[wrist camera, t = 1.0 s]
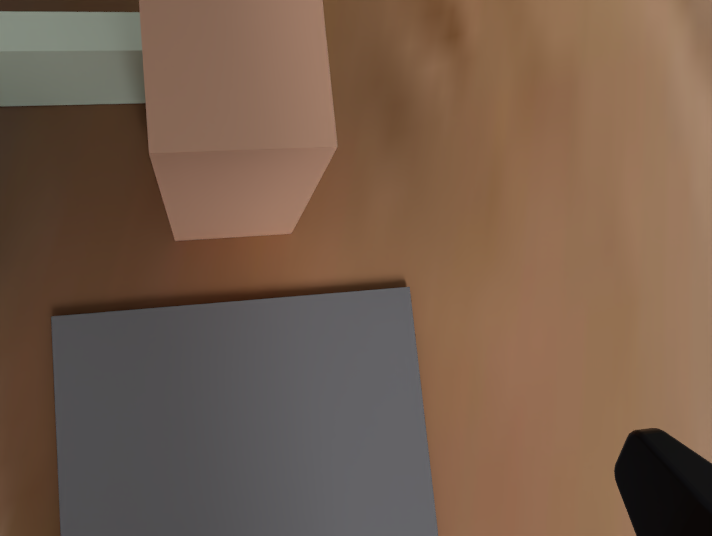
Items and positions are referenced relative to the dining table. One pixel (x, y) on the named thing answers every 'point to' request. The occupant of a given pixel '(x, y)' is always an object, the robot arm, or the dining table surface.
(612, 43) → the dining table surface
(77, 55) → the bar
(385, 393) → the charcoal mat
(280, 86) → the terracotta block
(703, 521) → the robot arm
